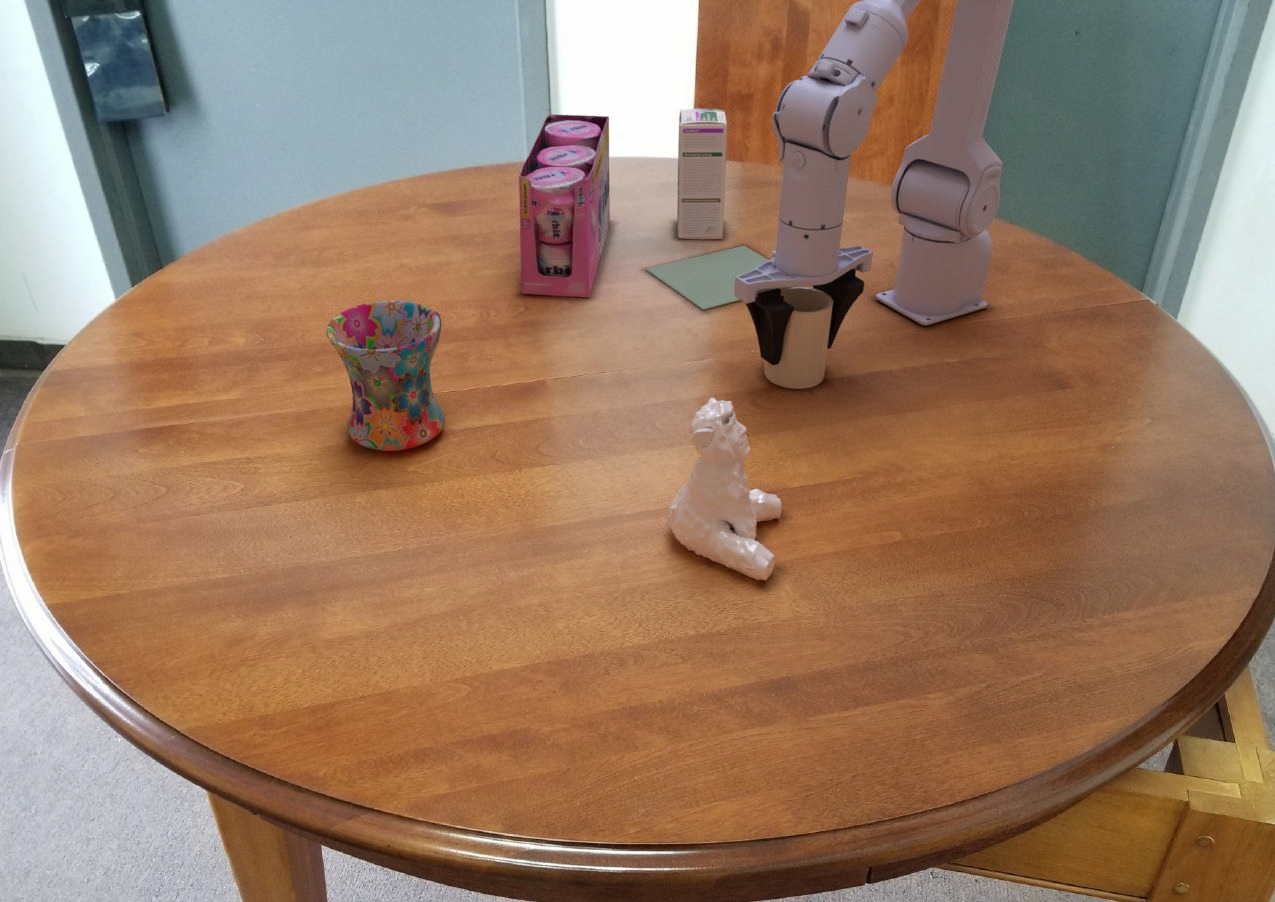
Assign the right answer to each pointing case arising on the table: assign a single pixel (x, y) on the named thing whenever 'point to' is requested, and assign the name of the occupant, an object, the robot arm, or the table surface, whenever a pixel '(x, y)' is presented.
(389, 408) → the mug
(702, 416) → the seated beast figurine
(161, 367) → the table surface
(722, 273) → the mat
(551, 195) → the gum box
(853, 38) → the robot arm
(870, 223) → the table surface
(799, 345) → the cup
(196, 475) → the table surface
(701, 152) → the syrup box
